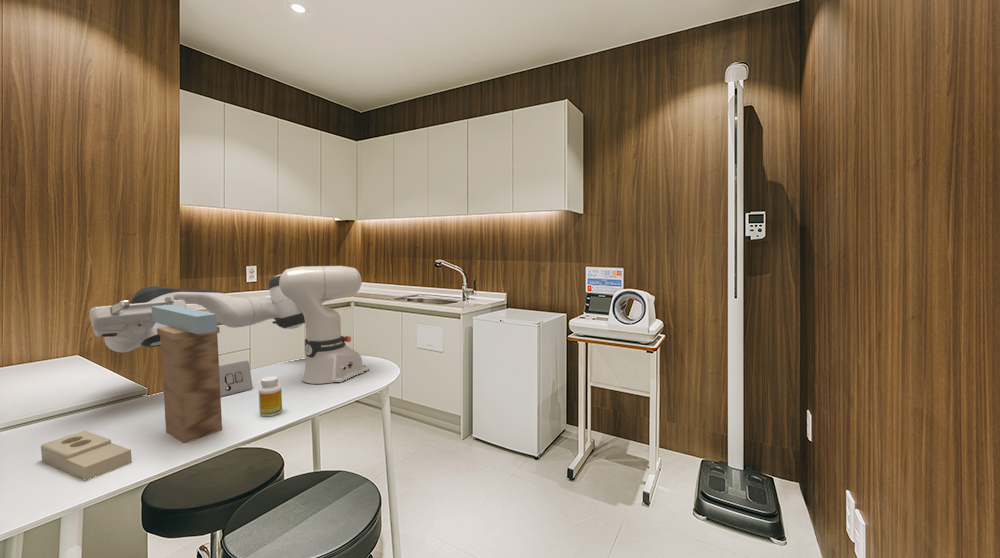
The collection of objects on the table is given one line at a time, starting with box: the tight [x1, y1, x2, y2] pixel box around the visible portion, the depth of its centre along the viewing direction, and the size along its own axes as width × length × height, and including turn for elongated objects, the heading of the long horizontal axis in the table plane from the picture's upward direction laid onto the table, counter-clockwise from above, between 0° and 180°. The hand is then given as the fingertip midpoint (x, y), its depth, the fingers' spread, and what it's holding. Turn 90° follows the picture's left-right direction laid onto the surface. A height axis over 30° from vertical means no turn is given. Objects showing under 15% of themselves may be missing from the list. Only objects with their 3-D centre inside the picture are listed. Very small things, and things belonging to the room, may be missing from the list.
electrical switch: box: [219, 360, 253, 397], centre depth 124 cm, size 9×5×9 cm, turn 141°
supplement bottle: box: [258, 376, 283, 417], centre depth 108 cm, size 5×5×10 cm
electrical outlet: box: [40, 430, 133, 481], centre depth 84 cm, size 7×4×18 cm
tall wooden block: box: [157, 325, 223, 444], centre depth 97 cm, size 9×10×26 cm
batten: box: [151, 305, 218, 334], centre depth 97 cm, size 4×26×4 cm, turn 58°
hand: (148, 301), depth 107 cm, fingers open, 8 cm apart
